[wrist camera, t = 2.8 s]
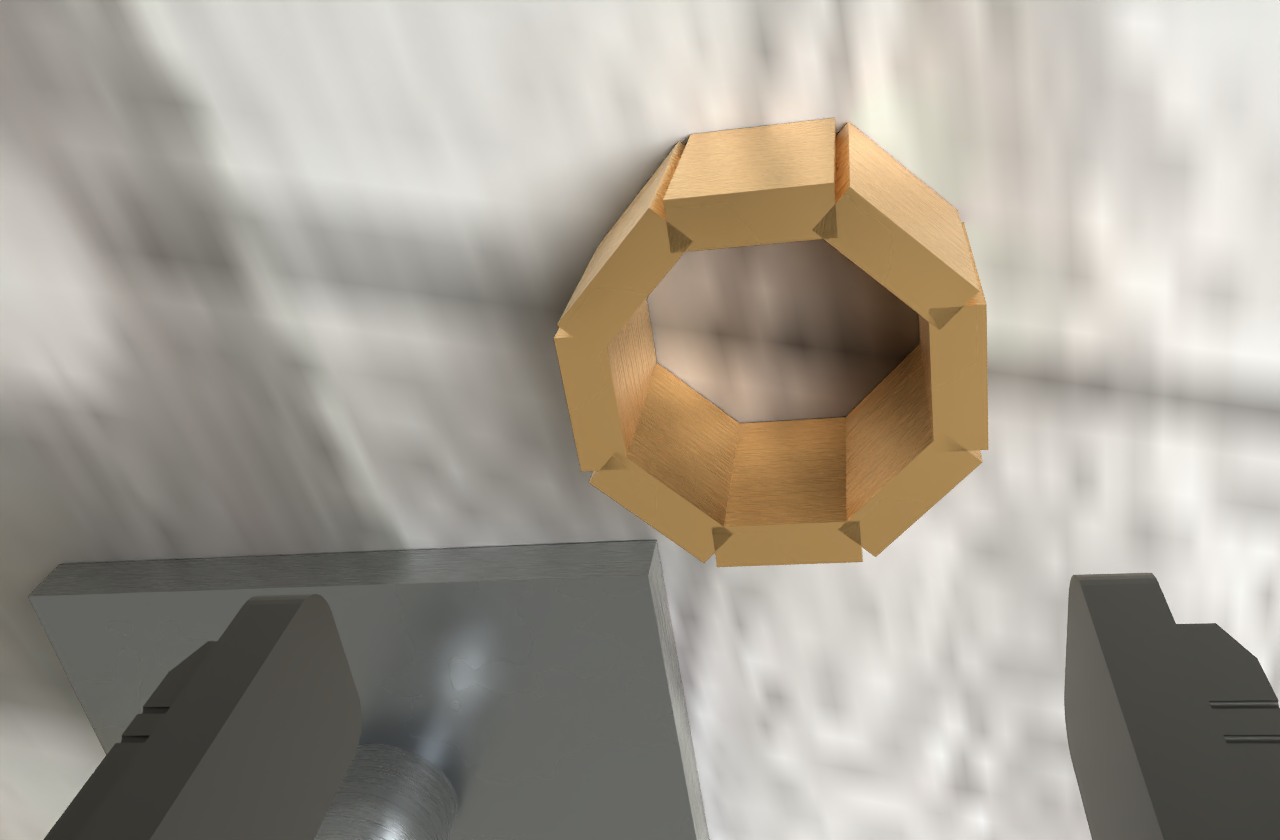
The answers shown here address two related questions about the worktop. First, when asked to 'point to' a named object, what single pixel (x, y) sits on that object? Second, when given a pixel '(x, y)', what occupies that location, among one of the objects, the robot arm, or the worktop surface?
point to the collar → (797, 449)
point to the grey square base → (435, 680)
